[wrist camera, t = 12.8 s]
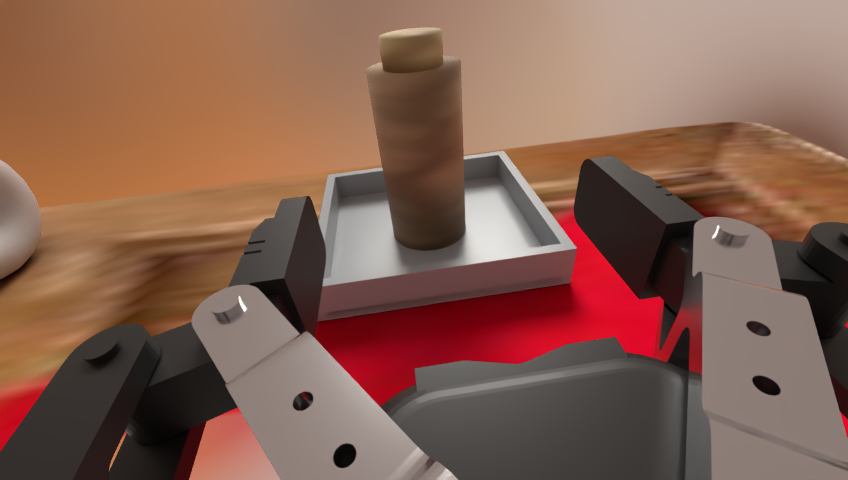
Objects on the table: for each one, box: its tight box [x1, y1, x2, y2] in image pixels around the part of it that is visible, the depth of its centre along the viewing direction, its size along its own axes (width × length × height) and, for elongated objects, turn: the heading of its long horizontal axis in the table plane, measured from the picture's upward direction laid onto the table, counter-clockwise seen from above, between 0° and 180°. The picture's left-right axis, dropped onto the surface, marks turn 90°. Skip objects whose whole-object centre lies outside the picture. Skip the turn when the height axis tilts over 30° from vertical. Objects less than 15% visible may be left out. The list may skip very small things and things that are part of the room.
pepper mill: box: [366, 28, 466, 251], centre depth 22 cm, size 5×5×12 cm
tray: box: [317, 151, 577, 322], centre depth 26 cm, size 14×13×2 cm
